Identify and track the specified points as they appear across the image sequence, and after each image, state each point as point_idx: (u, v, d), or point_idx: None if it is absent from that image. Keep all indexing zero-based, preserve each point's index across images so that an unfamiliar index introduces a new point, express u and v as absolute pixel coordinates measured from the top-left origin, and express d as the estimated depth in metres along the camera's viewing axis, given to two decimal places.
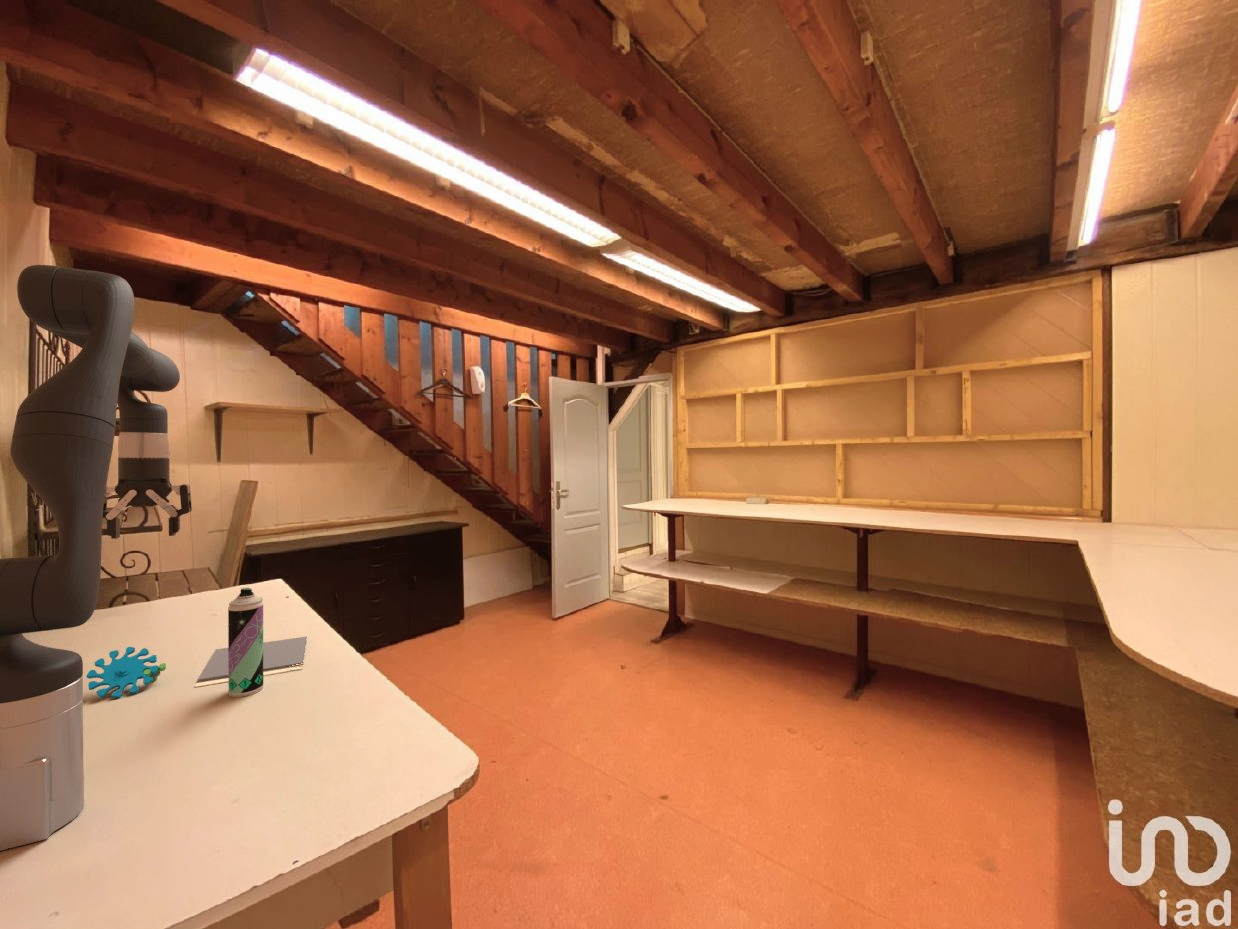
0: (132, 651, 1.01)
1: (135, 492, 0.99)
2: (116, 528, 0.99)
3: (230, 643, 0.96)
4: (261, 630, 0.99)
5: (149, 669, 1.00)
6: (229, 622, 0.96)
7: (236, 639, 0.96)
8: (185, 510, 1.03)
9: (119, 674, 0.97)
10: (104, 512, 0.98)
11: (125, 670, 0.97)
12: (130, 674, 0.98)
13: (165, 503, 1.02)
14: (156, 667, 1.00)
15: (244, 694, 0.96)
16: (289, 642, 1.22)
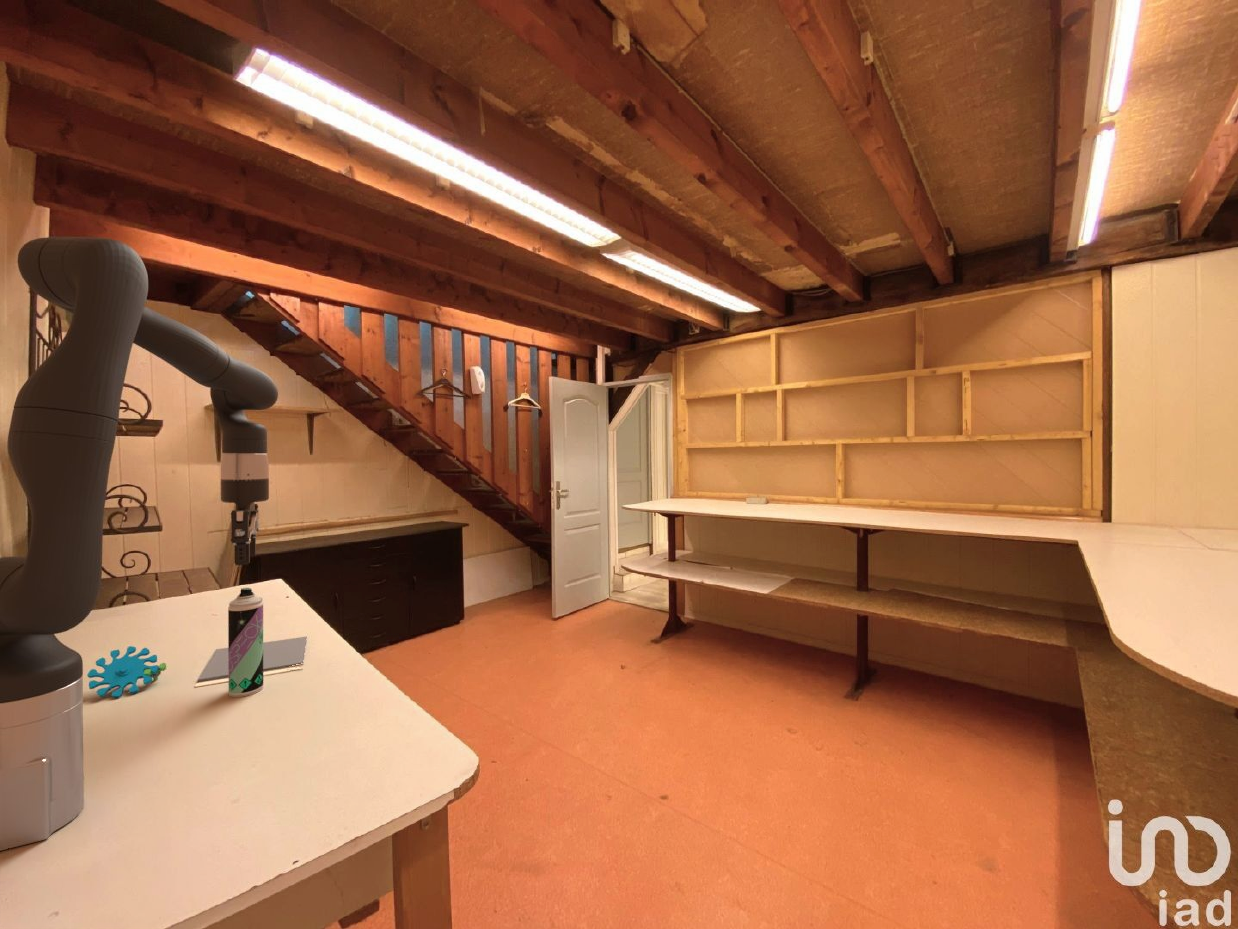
0: (133, 651, 1.01)
1: (257, 513, 0.98)
2: None
3: (230, 643, 0.96)
4: (261, 630, 0.99)
5: (149, 669, 1.00)
6: (229, 622, 0.96)
7: (236, 639, 0.96)
8: None
9: (119, 674, 0.97)
10: None
11: (125, 670, 0.98)
12: (130, 674, 0.98)
13: None
14: (156, 667, 1.01)
15: (244, 694, 0.96)
16: (289, 642, 1.22)
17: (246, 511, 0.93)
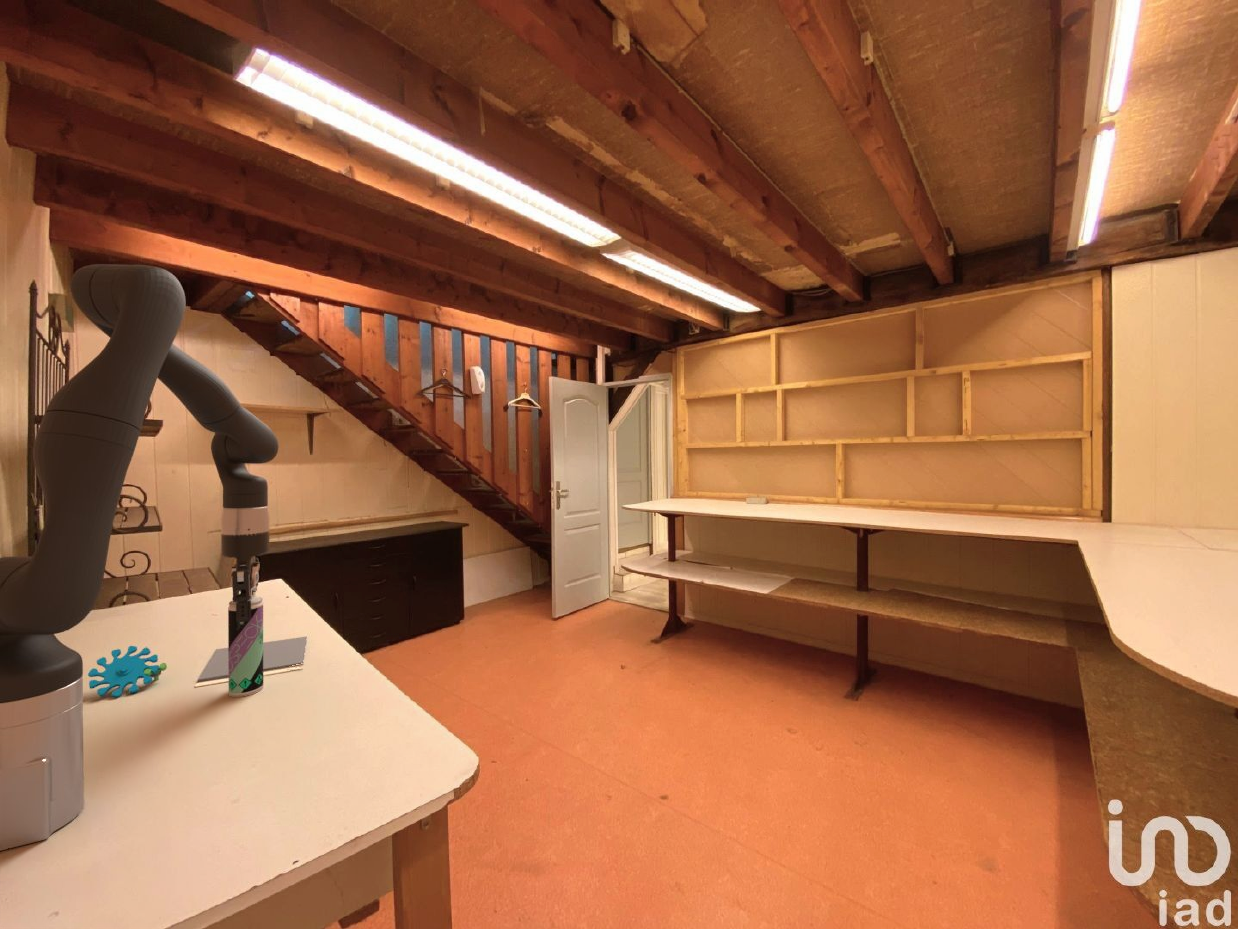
0: (134, 650, 1.01)
1: (257, 566, 0.98)
2: None
3: (230, 643, 0.96)
4: (261, 630, 0.99)
5: (149, 669, 1.00)
6: (229, 622, 0.96)
7: (236, 639, 0.96)
8: None
9: (120, 673, 0.97)
10: None
11: (126, 669, 0.98)
12: (131, 673, 0.98)
13: None
14: (157, 667, 1.01)
15: (244, 694, 0.96)
16: (289, 642, 1.22)
17: (247, 572, 0.93)
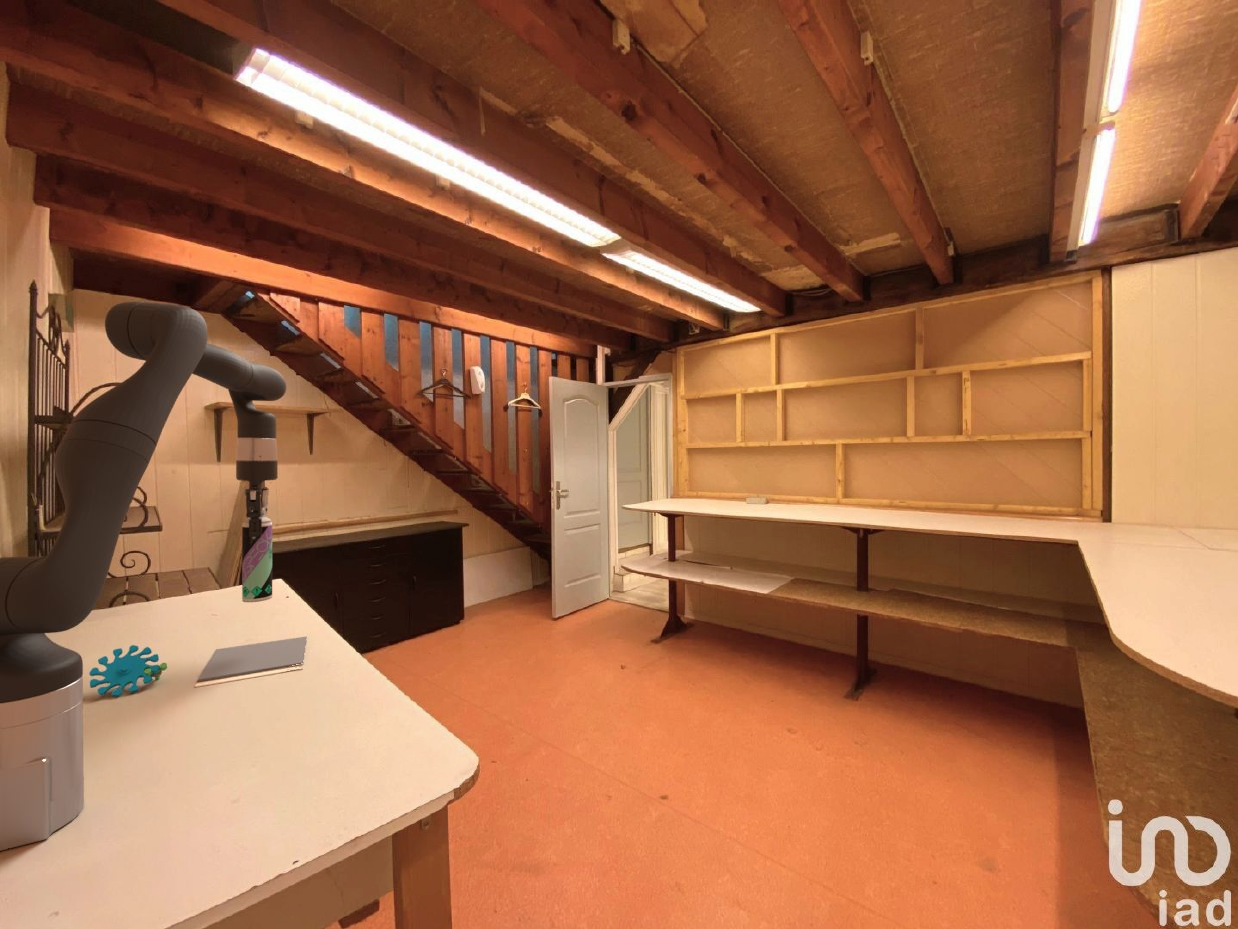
0: (135, 650, 1.01)
1: (267, 490, 1.13)
2: None
3: (244, 555, 1.10)
4: (270, 546, 1.13)
5: (150, 668, 1.00)
6: (243, 537, 1.11)
7: (249, 552, 1.10)
8: None
9: (120, 673, 0.98)
10: None
11: (126, 669, 0.98)
12: (131, 673, 0.98)
13: None
14: (157, 666, 1.01)
15: (256, 600, 1.11)
16: (289, 642, 1.22)
17: (258, 492, 1.07)
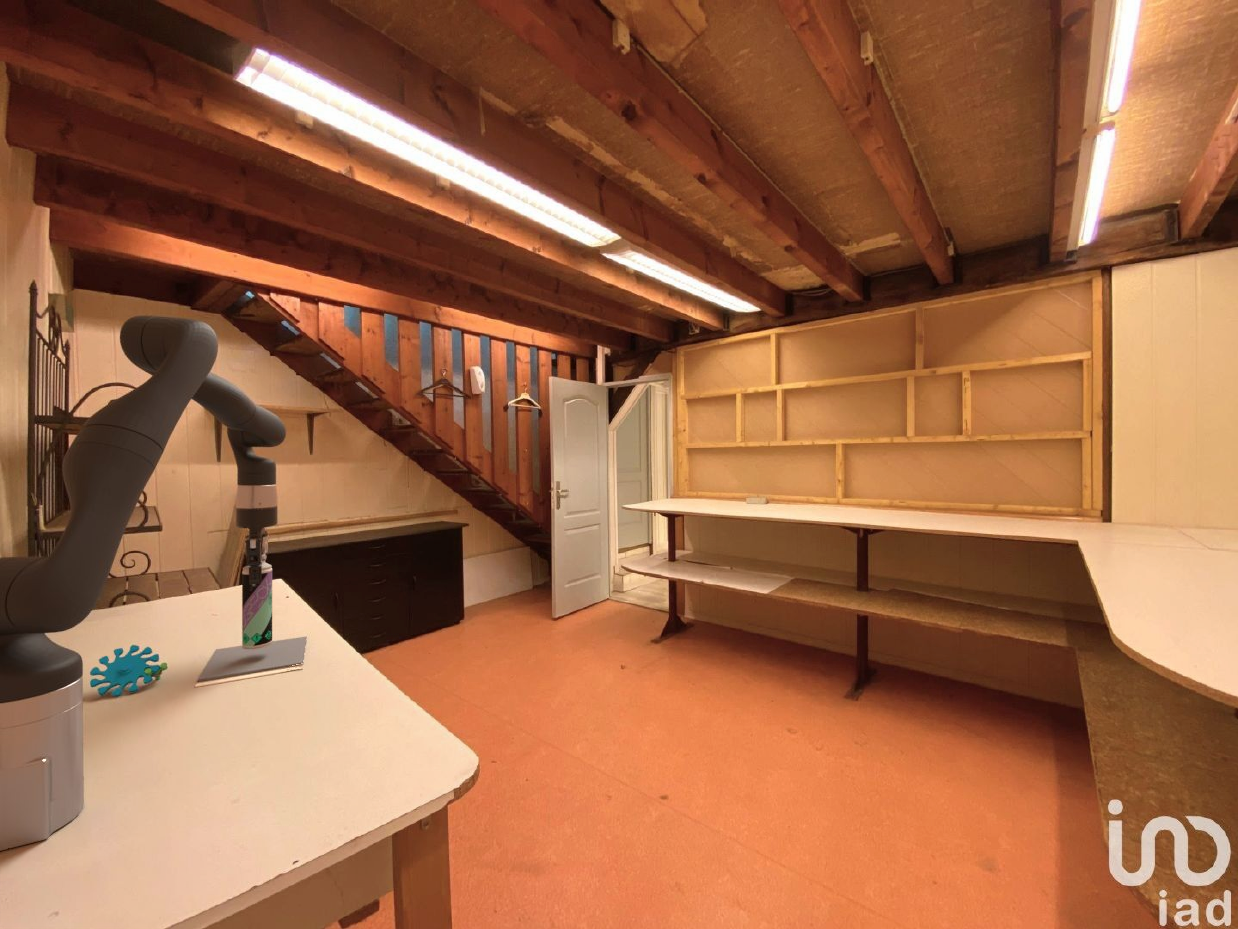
0: (136, 649, 1.01)
1: (267, 536, 1.13)
2: None
3: (244, 602, 1.11)
4: (270, 592, 1.13)
5: (150, 668, 1.00)
6: (243, 584, 1.11)
7: (249, 599, 1.10)
8: None
9: (121, 672, 0.98)
10: None
11: (126, 668, 0.98)
12: (131, 673, 0.98)
13: None
14: (157, 666, 1.01)
15: (256, 647, 1.11)
16: (289, 642, 1.22)
17: (258, 540, 1.07)
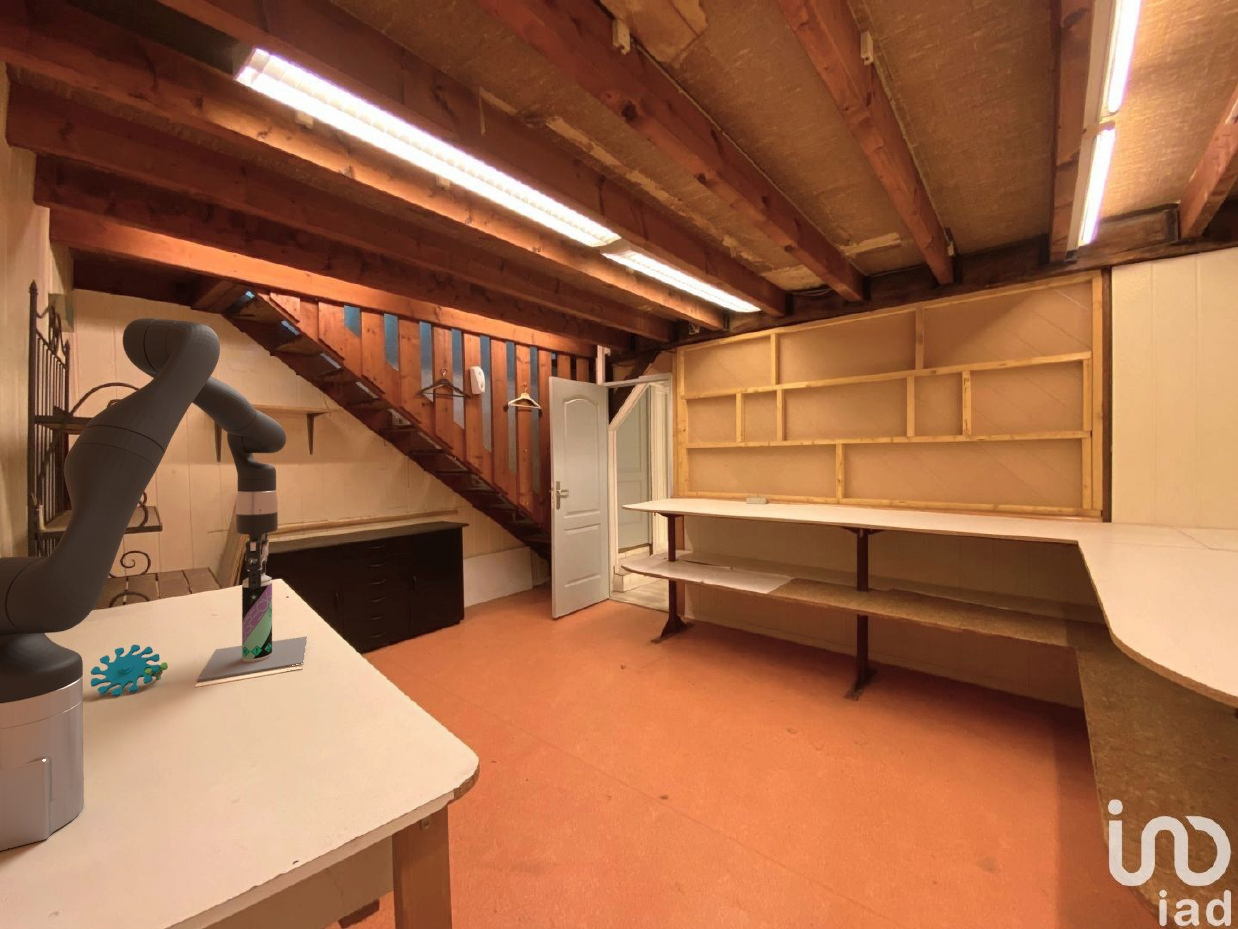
0: (137, 649, 1.02)
1: (267, 543, 1.13)
2: None
3: (244, 615, 1.11)
4: (270, 605, 1.13)
5: (150, 668, 1.00)
6: (243, 597, 1.11)
7: (249, 612, 1.10)
8: None
9: (121, 672, 0.98)
10: None
11: (127, 668, 0.98)
12: (131, 672, 0.99)
13: None
14: (157, 666, 1.01)
15: (256, 660, 1.11)
16: (289, 642, 1.22)
17: (258, 542, 1.08)
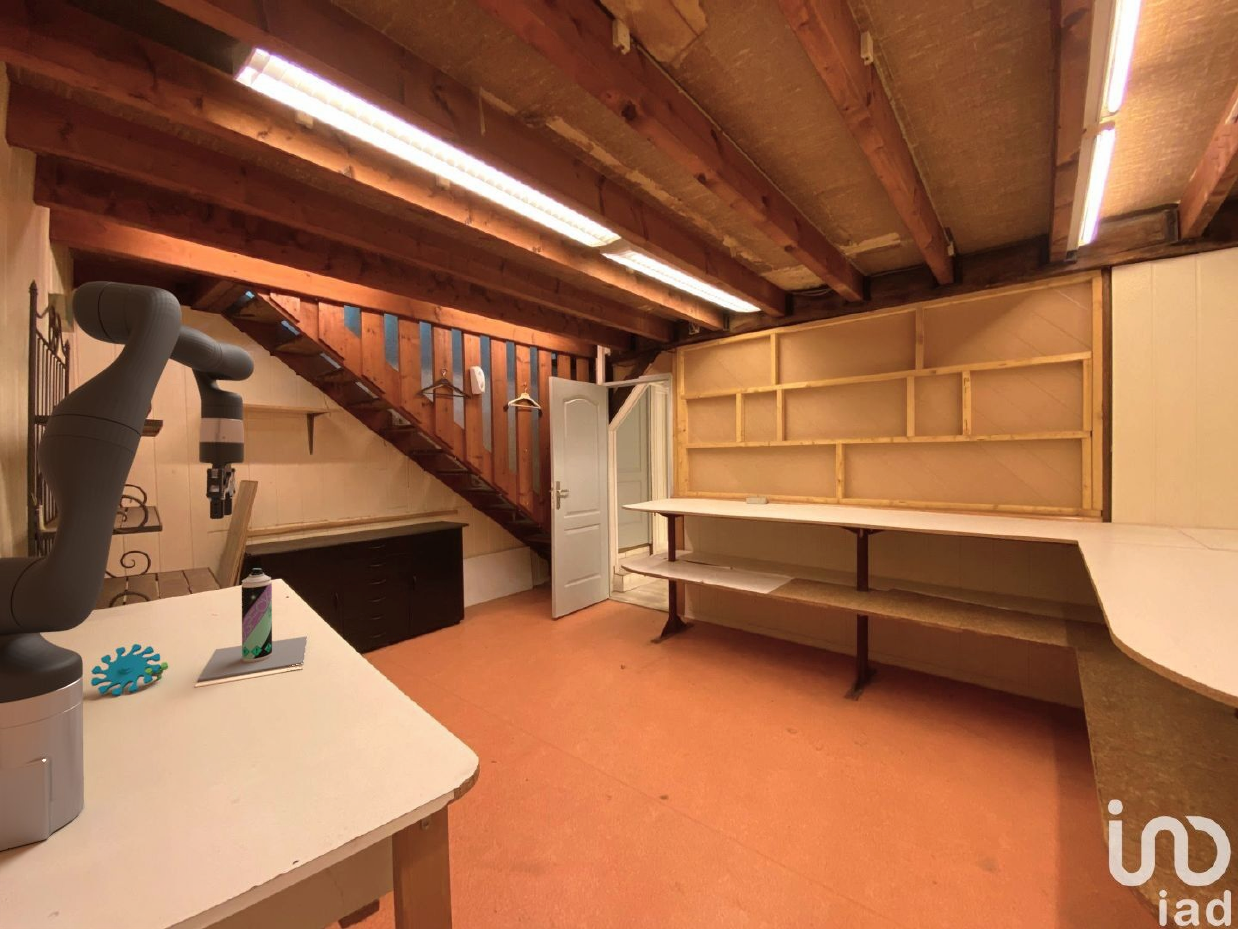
0: (138, 649, 1.02)
1: (232, 474, 1.08)
2: None
3: (243, 615, 1.11)
4: (270, 605, 1.13)
5: (151, 668, 1.00)
6: (242, 597, 1.11)
7: (249, 612, 1.10)
8: (235, 491, 1.14)
9: (121, 671, 0.98)
10: None
11: (127, 668, 0.98)
12: (132, 672, 0.99)
13: None
14: (158, 666, 1.01)
15: (256, 660, 1.11)
16: (289, 642, 1.22)
17: (220, 469, 1.02)
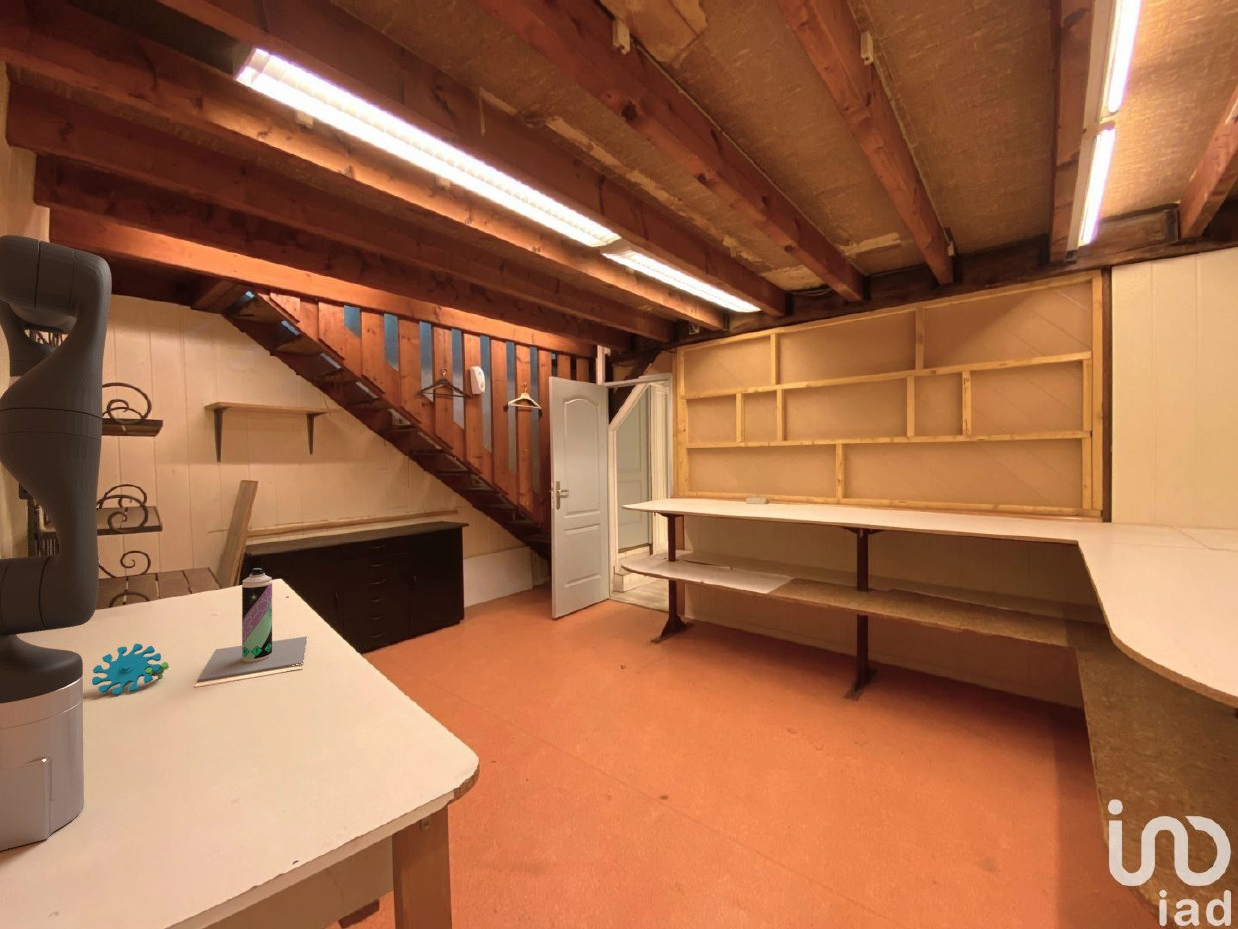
0: (139, 648, 1.02)
1: None
2: None
3: (244, 615, 1.11)
4: (270, 605, 1.13)
5: (151, 667, 1.00)
6: (243, 597, 1.11)
7: (249, 612, 1.10)
8: None
9: (122, 671, 0.98)
10: None
11: (128, 667, 0.99)
12: (132, 671, 0.99)
13: None
14: (158, 666, 1.01)
15: (256, 660, 1.11)
16: (289, 642, 1.22)
17: None
